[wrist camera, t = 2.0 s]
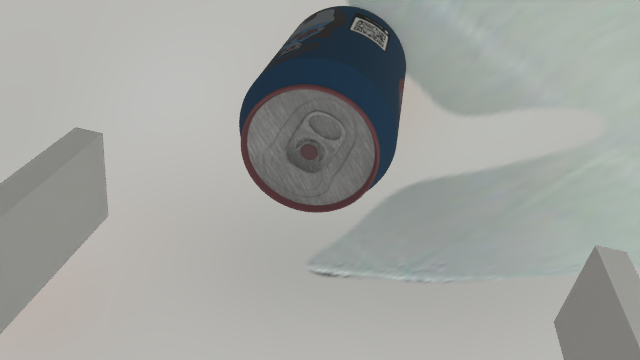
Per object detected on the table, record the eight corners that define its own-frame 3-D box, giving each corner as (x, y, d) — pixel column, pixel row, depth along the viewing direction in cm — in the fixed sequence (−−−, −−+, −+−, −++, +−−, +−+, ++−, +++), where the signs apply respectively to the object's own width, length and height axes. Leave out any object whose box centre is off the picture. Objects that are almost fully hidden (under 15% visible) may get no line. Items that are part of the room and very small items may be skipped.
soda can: (365, 134, 34) (337, 250, 24) (270, 76, 33) (200, 171, 23) (430, 43, 31) (430, 134, 20) (326, -25, 30) (272, 35, 19)
